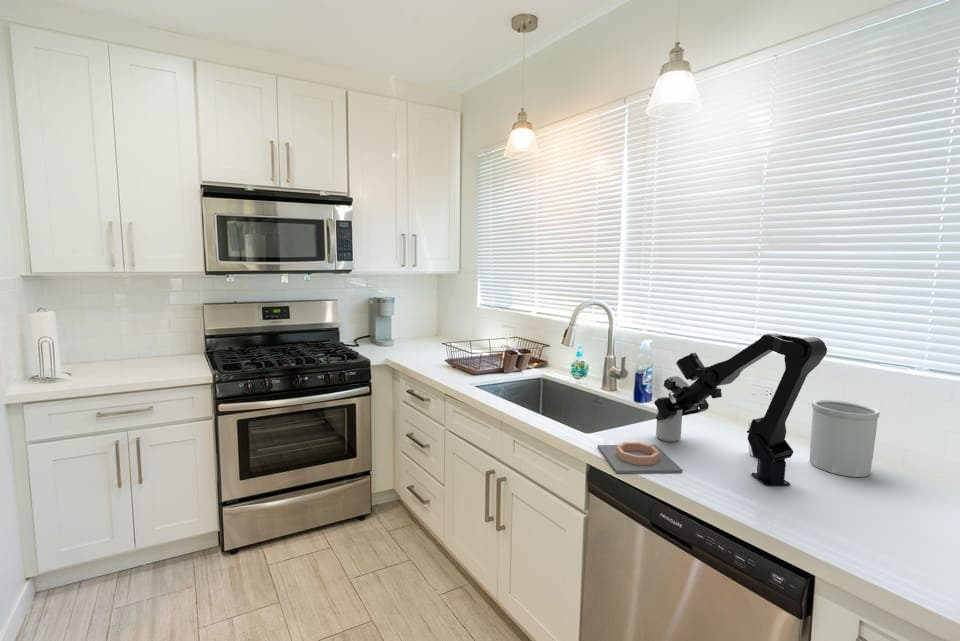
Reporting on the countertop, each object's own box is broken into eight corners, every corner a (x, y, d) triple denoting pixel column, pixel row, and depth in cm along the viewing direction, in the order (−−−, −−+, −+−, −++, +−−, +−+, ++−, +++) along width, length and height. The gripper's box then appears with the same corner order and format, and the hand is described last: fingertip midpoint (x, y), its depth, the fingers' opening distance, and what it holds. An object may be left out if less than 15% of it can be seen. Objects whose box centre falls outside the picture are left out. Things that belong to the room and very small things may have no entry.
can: (682, 443, 150) (685, 406, 148) (657, 441, 151) (659, 405, 150) (678, 435, 157) (680, 400, 156) (654, 433, 159) (655, 398, 157)
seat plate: (682, 472, 129) (683, 462, 129) (616, 473, 129) (617, 462, 128) (655, 447, 147) (656, 437, 147) (597, 447, 146) (597, 438, 146)
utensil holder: (805, 452, 144) (810, 395, 142) (867, 463, 137) (874, 403, 134) (808, 470, 132) (814, 408, 130) (877, 483, 124) (885, 417, 122)
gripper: (702, 367, 152) (672, 392, 163) (660, 373, 144) (632, 399, 155) (723, 397, 146) (690, 421, 157) (681, 405, 138) (649, 430, 149)
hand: (665, 417), depth 155 cm, fingers closed on can, 7 cm apart
